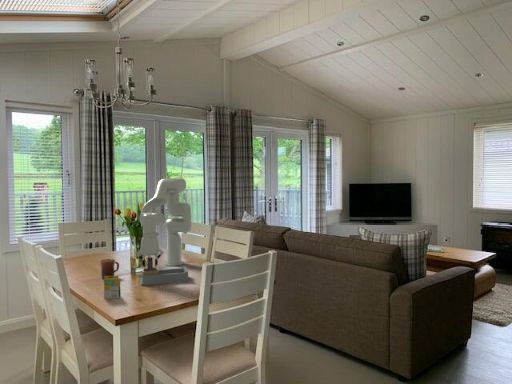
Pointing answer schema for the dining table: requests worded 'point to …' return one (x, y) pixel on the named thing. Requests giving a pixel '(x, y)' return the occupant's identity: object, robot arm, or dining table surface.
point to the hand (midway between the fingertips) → (150, 266)
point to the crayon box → (111, 287)
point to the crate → (150, 268)
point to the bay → (166, 276)
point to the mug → (108, 267)
